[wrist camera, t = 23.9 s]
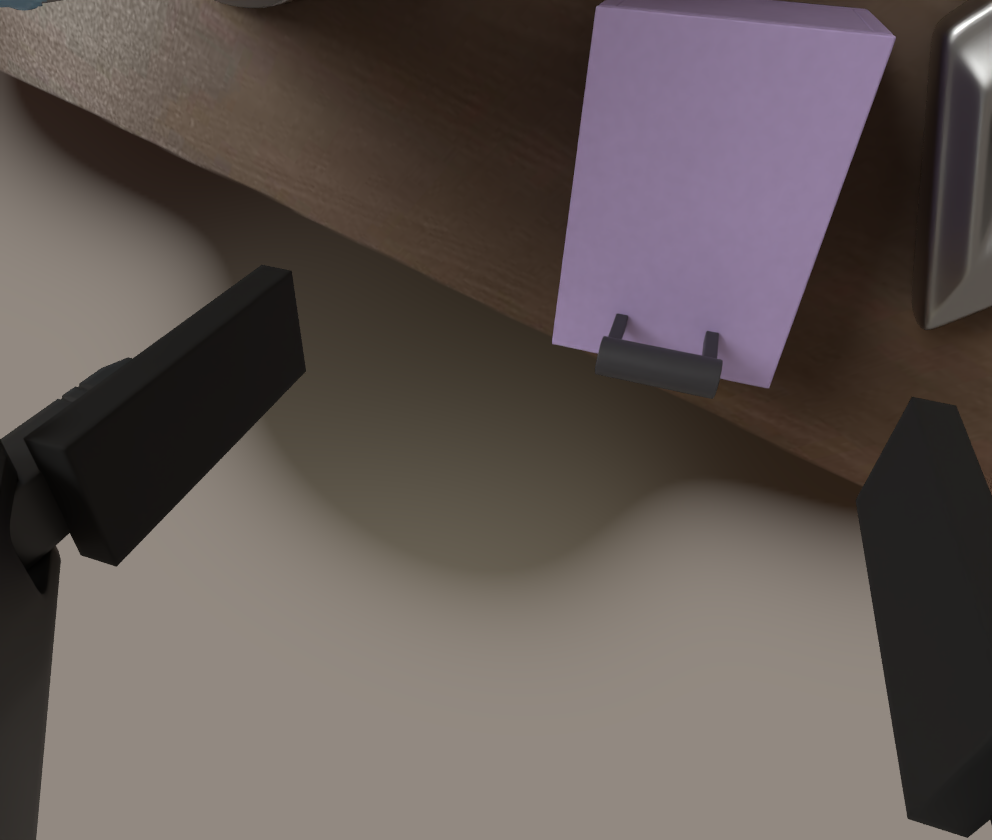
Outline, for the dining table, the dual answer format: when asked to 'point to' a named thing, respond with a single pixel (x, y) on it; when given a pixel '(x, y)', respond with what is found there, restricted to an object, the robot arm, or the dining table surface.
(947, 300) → the emblem
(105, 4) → the dining table surface
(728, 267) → the file box lid
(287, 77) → the dining table surface
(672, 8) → the box
